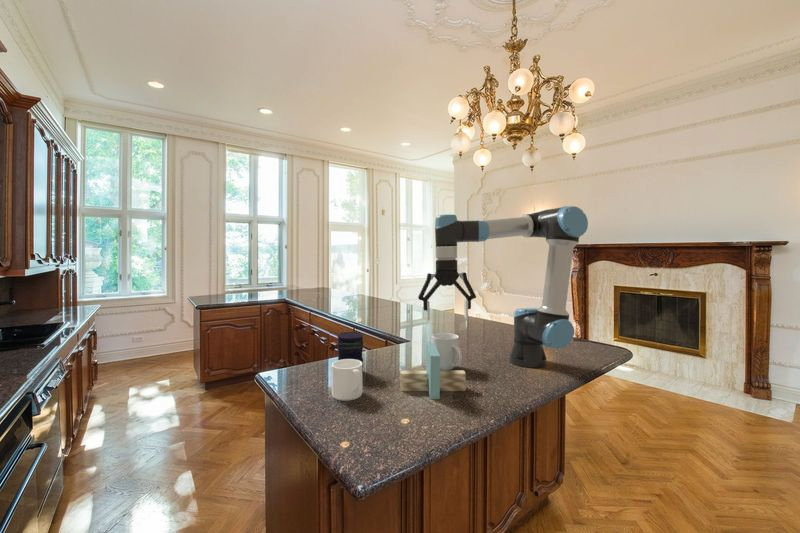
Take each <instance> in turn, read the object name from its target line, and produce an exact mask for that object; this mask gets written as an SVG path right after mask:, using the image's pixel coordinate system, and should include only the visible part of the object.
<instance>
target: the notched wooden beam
mask: <svg viewBox="0 0 800 533" xmlns="http://www.w3.org/2000/svg"><path fill="white" fill-rule="evenodd" d="M466 378H467V374H466V372H465V370H464V369H463V370H461V369H460V370H457V369H456V370H453V369H451V370H440V392H466V391H467V390H466V384H467V383H466V381H467V380H466ZM399 382H400V392H428V380H427V371H426V370H400V380H399Z"/></svg>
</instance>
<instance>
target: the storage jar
mask: <svg viewBox="0 0 800 533" xmlns="http://www.w3.org/2000/svg"><path fill="white" fill-rule="evenodd" d="M363 337H364V334H363V333H361V332H359V331H358V332H357V331H347V332H346V331H345V332H341V333H338V334H337V351H338V352H337V353H338V354H337V355H338V356H337V357H338V358H337V361H338V360H342V359H355V360H359V361H361V362H362V375H363V373H364V359H363V349H364V338H363Z"/></svg>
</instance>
